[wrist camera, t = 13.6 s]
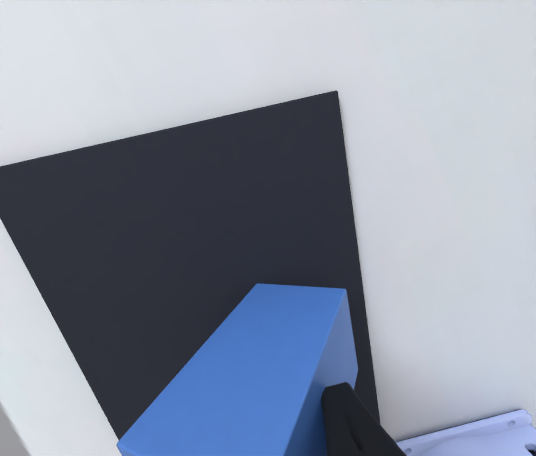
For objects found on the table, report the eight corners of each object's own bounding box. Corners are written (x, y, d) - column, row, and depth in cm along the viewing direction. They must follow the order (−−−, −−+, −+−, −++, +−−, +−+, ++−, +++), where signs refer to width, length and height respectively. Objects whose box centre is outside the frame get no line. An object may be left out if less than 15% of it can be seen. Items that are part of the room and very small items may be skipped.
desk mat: (334, 91, 12) (337, 89, 12) (378, 426, 18) (381, 432, 18) (-17, 171, 12) (-26, 172, 11) (148, 486, 18) (146, 493, 18)
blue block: (346, 287, 12) (258, 519, 5) (358, 369, 13) (300, 634, 7) (256, 282, 14) (114, 443, 7) (274, 353, 15) (168, 542, 9)
